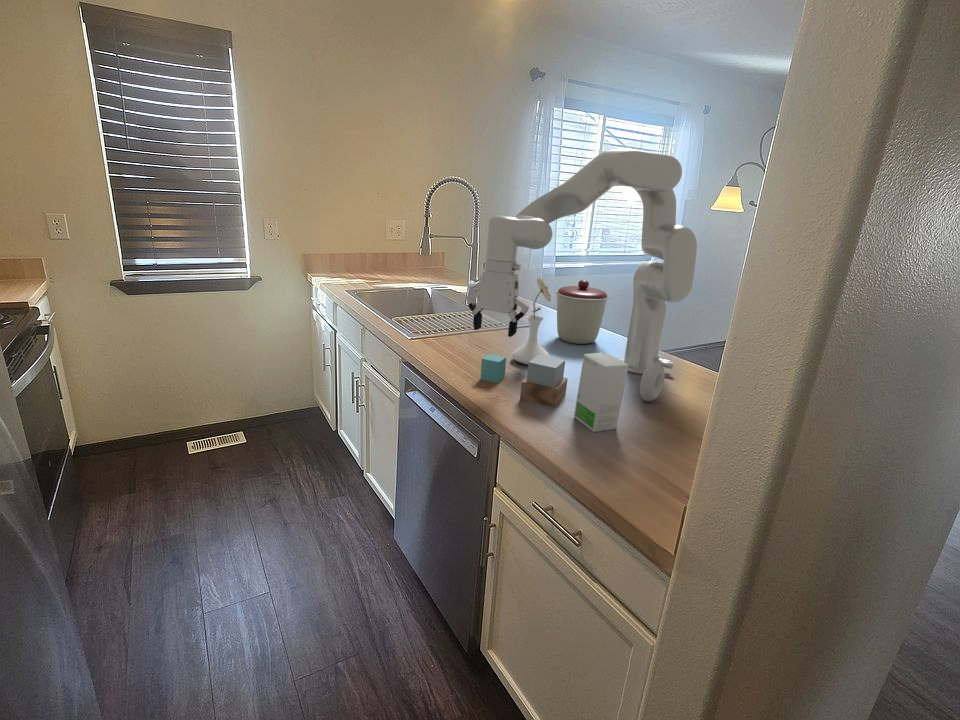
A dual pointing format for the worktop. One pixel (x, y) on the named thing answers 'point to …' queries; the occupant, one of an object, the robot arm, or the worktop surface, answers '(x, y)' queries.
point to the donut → (652, 382)
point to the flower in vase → (533, 332)
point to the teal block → (493, 368)
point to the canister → (580, 312)
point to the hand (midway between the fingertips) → (494, 332)
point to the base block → (543, 393)
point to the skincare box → (600, 391)
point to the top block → (545, 371)
